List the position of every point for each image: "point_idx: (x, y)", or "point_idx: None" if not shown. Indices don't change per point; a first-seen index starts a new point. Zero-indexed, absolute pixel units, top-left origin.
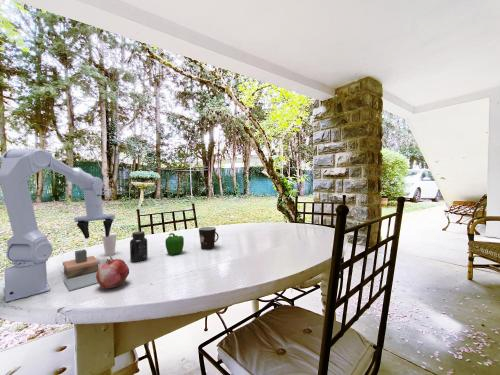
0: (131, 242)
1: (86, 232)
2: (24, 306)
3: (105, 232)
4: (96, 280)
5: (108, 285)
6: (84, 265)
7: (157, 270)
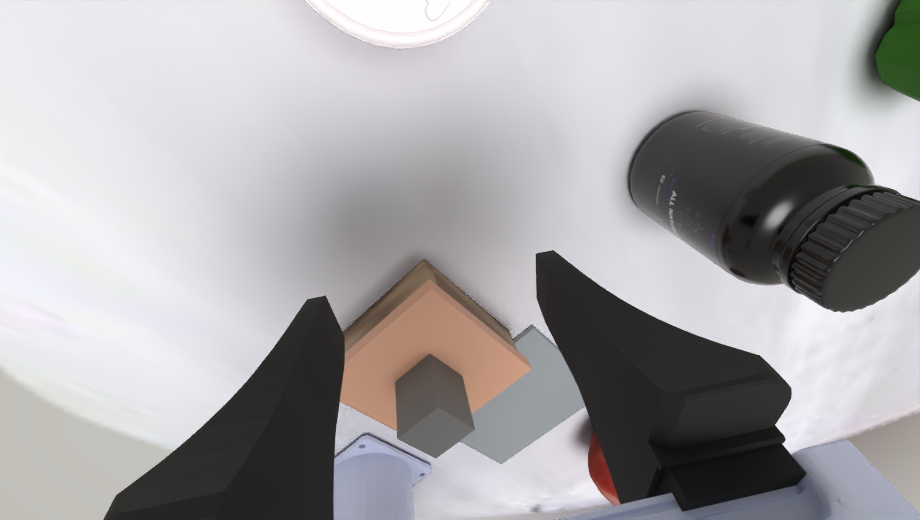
0: (739, 278)
1: (326, 390)
2: (436, 516)
3: (562, 349)
4: (552, 410)
5: None
6: (477, 403)
7: (758, 313)
